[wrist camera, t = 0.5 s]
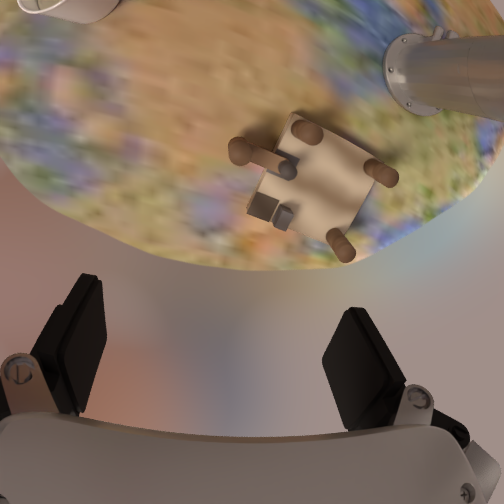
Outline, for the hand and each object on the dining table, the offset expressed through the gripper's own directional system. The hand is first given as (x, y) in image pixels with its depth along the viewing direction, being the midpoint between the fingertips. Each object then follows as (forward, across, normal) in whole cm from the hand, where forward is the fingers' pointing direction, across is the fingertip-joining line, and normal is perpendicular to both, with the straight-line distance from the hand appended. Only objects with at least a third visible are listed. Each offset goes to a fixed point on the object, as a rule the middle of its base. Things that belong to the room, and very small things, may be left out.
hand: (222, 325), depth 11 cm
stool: (+30, -13, 0) cm, 33 cm away
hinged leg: (+28, -5, -2) cm, 29 cm away
